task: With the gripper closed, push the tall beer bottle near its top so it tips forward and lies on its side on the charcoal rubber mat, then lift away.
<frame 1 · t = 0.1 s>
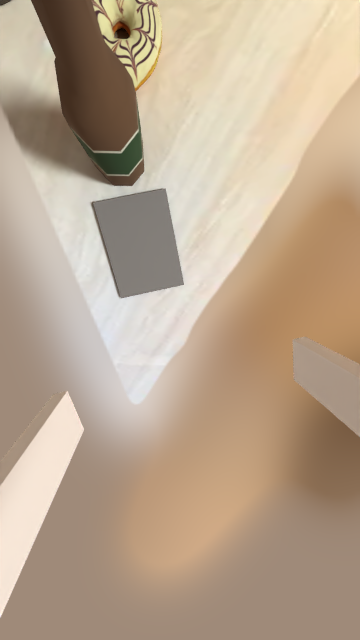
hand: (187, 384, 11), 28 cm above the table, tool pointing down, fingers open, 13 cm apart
decorated donut: (123, 50, 28), on the table
mat: (142, 246, 35), on the table
beer bottle: (121, 161, 31), on the table
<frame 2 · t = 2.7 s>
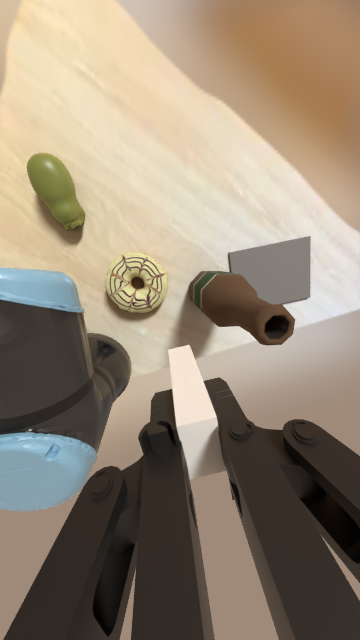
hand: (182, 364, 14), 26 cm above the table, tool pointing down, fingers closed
decorated donut: (138, 282, 38), on the table
mat: (270, 276, 40), on the table
beer bottle: (207, 289, 39), on the table
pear: (66, 199, 33), on the table
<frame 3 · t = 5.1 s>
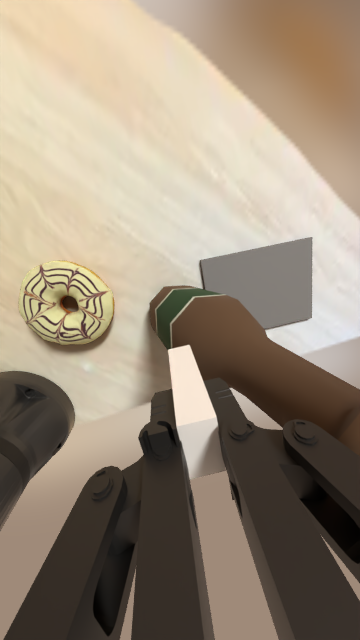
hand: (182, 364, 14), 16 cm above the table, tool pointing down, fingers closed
decorated donut: (76, 301, 27), on the table
mat: (258, 290, 29), on the table
beer bottle: (174, 310, 28), point 1 cm above the table, touching gripper
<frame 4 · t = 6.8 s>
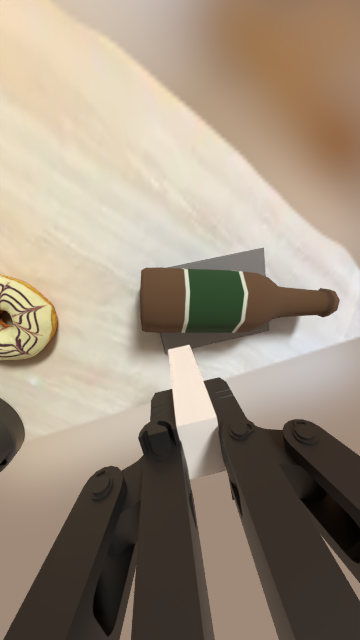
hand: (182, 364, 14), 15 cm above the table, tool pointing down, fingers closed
decorated donut: (18, 314, 26), on the table
mat: (211, 302, 28), on the table
beer bottle: (140, 299, 23), point 4 cm above the table, touching mat
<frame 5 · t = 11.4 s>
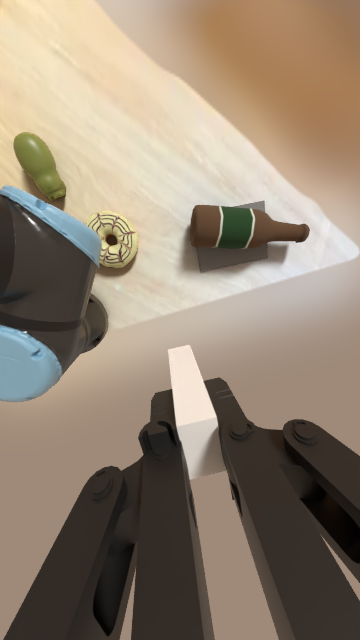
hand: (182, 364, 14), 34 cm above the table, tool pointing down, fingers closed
decorated donut: (113, 241, 43), on the table
mat: (230, 237, 45), on the table
beer bottle: (192, 226, 39), point 4 cm above the table, touching mat
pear: (49, 175, 38), on the table
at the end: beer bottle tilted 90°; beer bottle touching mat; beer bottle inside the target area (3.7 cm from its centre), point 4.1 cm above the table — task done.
